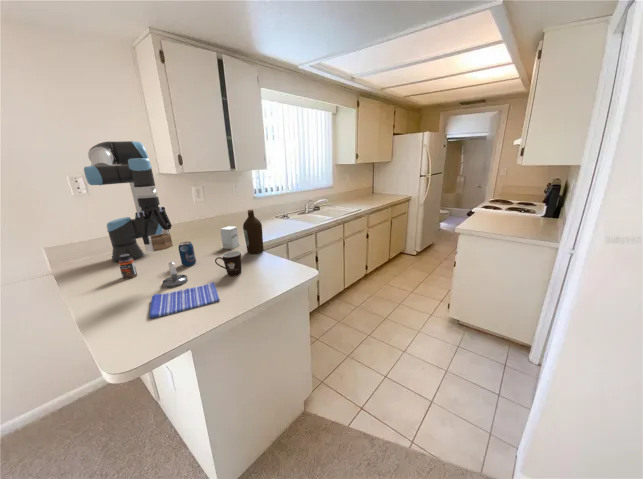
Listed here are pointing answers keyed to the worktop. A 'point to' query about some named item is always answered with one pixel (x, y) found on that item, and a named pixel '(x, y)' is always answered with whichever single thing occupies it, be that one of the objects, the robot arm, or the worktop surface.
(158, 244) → the walnut ring
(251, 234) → the olive oil
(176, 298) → the dish towel
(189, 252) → the soda can
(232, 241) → the supplement box
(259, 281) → the worktop surface
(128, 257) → the supplement bottle
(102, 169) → the robot arm
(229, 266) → the coffee mug
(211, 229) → the worktop surface
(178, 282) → the silver peg stand
